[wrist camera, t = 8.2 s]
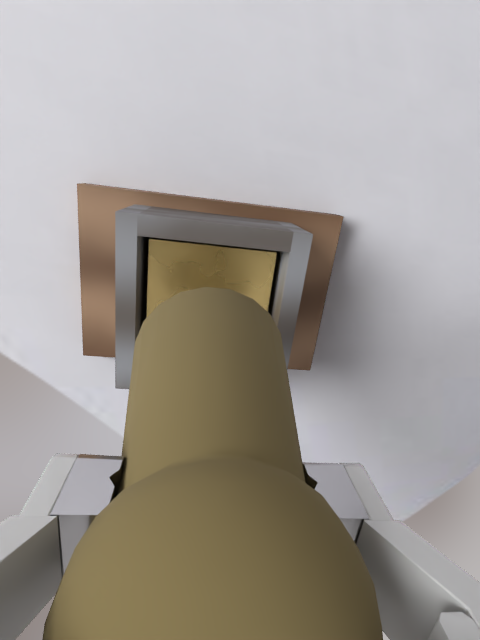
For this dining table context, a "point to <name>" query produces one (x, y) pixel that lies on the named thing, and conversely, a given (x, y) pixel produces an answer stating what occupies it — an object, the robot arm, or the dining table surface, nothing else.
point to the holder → (205, 227)
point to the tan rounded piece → (213, 499)
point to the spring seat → (207, 270)
